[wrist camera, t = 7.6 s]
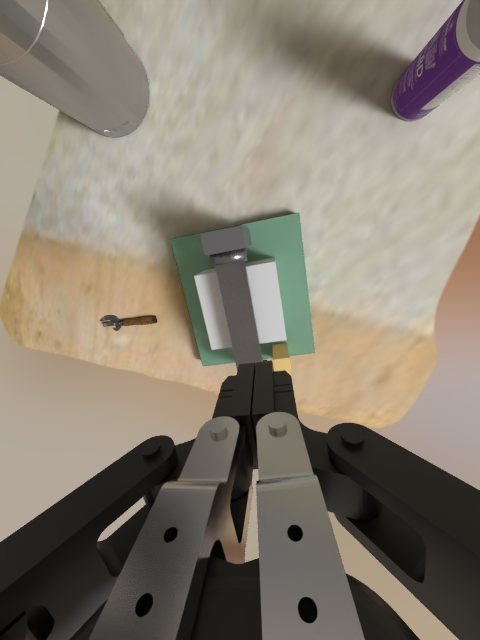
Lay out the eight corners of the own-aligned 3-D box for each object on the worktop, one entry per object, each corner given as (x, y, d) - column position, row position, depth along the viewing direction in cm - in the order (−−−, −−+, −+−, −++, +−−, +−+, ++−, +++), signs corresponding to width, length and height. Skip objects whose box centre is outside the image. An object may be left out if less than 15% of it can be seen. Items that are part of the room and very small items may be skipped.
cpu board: (174, 239, 34) (139, 241, 25) (297, 213, 32) (308, 205, 23) (205, 361, 39) (185, 399, 30) (313, 348, 37) (327, 385, 28)
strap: (219, 249, 31) (208, 252, 26) (249, 243, 31) (244, 245, 25) (244, 368, 36) (239, 394, 30) (270, 366, 35) (270, 391, 30)
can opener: (157, 314, 38) (154, 317, 37) (159, 329, 39) (156, 332, 38) (100, 314, 39) (95, 316, 38) (103, 328, 40) (98, 331, 39)
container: (385, 82, 27) (513, -87, 13) (434, 55, 26) (634, -163, 12) (397, 130, 28) (527, 24, 14) (444, 106, 27) (638, -35, 13)
